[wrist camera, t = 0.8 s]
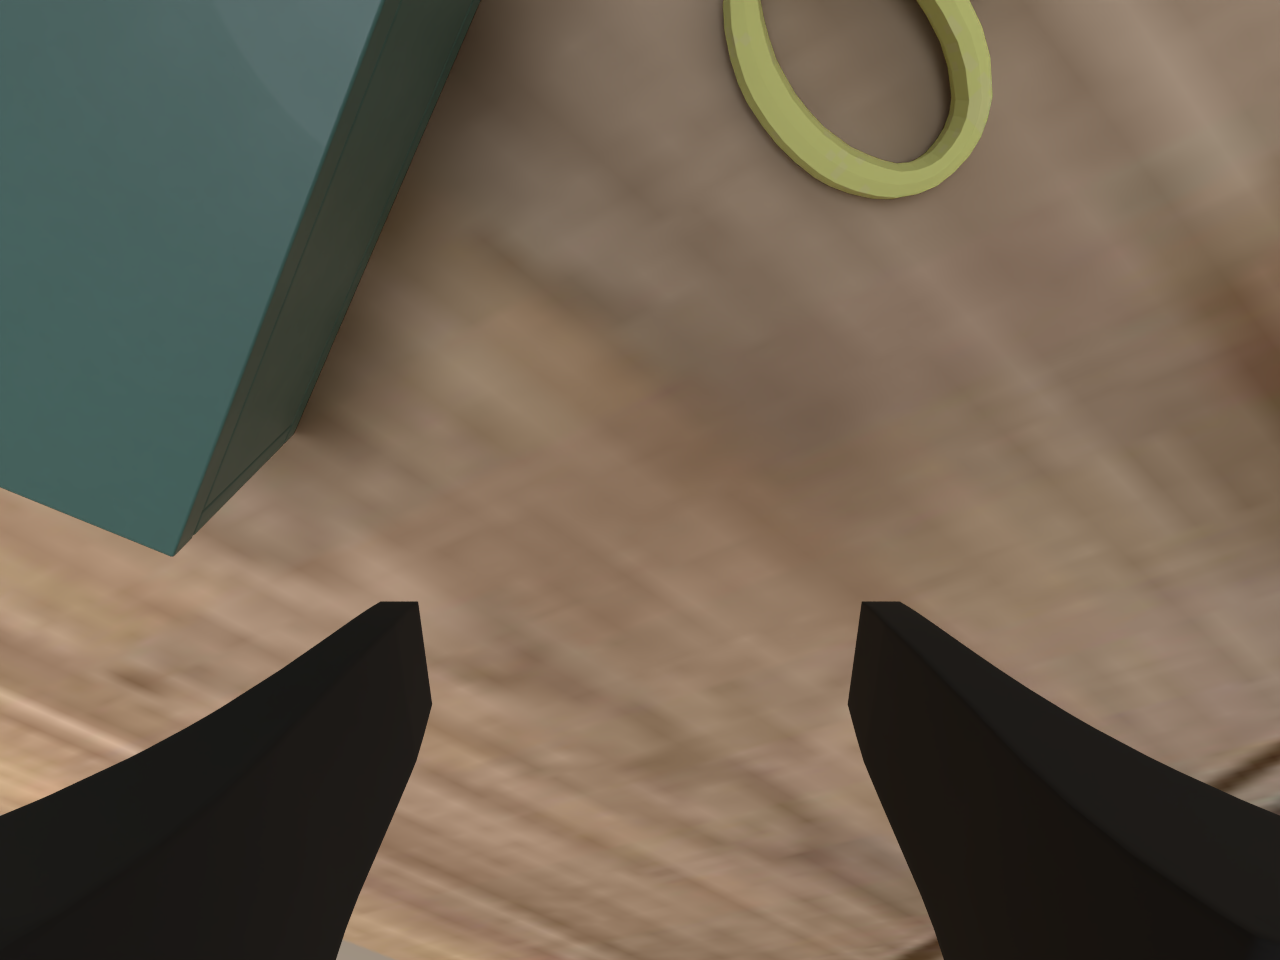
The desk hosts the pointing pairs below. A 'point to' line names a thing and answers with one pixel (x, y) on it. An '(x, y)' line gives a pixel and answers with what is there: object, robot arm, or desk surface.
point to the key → (830, 154)
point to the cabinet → (189, 232)
